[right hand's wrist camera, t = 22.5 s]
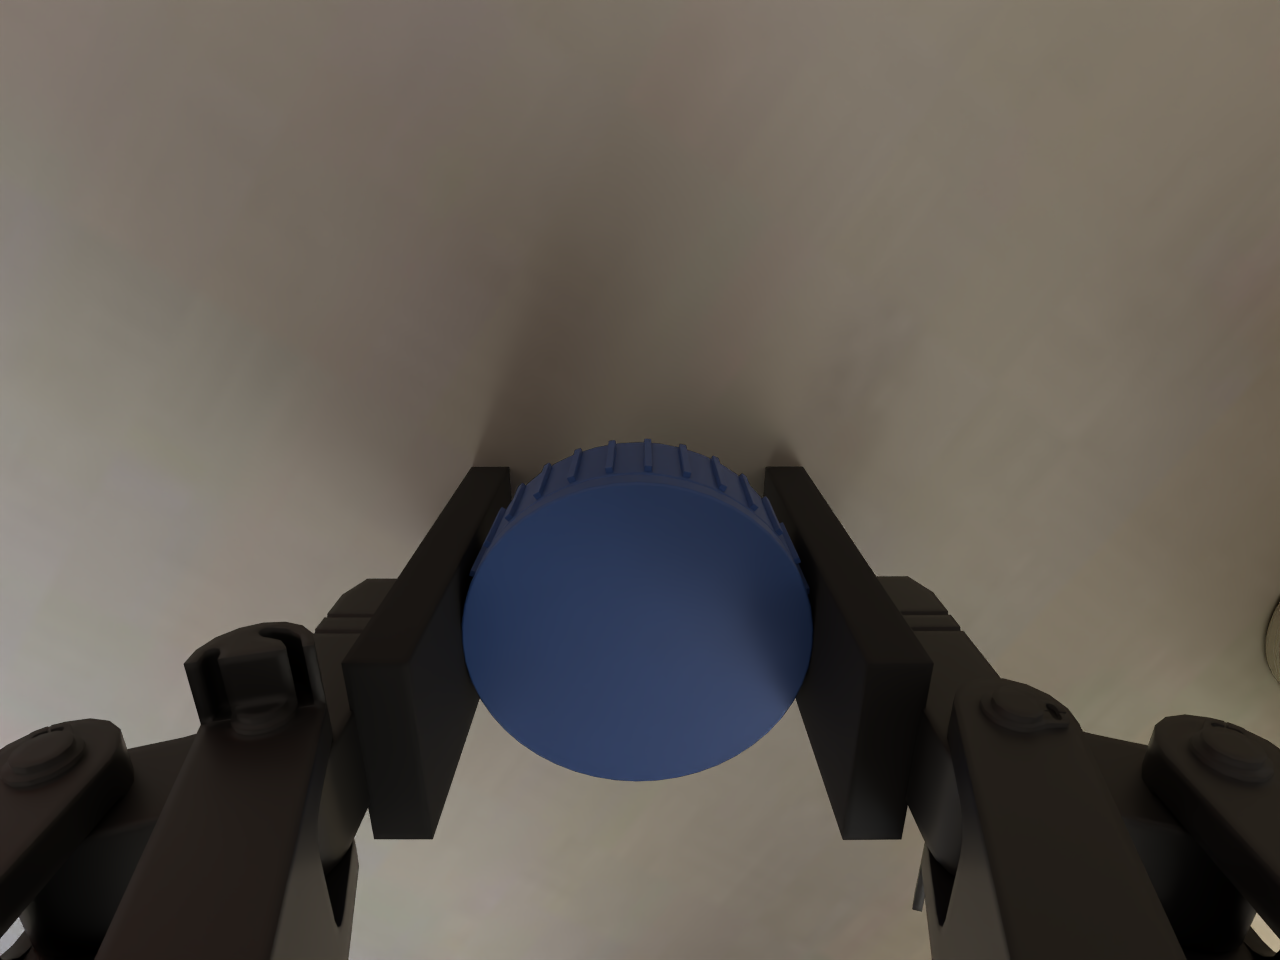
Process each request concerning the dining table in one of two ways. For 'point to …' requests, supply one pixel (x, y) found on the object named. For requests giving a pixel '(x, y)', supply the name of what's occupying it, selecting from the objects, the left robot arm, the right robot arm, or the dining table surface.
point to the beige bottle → (1274, 643)
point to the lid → (637, 614)
